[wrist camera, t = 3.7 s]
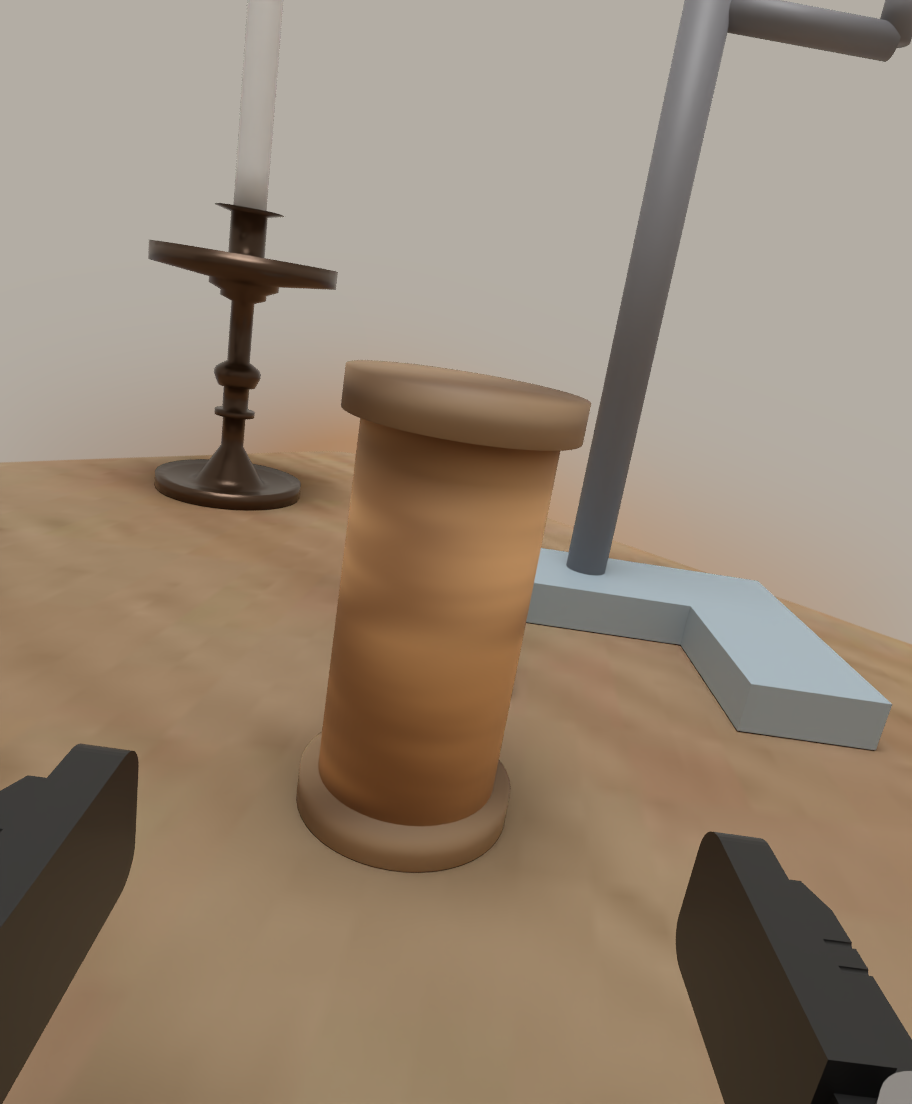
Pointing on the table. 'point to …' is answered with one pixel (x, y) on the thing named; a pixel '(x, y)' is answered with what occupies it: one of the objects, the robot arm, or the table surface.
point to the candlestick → (242, 290)
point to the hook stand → (586, 571)
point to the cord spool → (432, 610)
